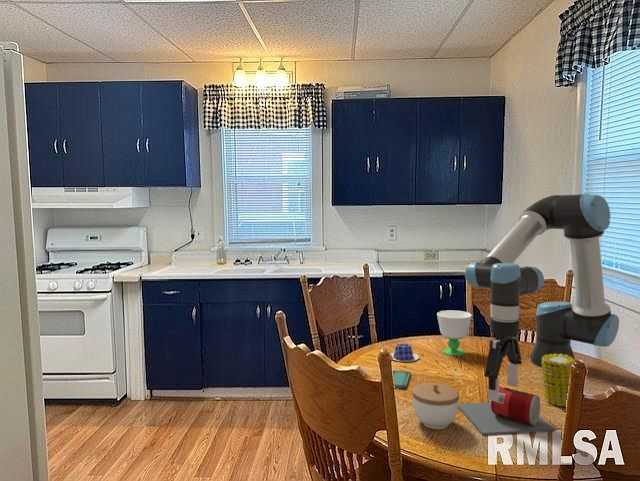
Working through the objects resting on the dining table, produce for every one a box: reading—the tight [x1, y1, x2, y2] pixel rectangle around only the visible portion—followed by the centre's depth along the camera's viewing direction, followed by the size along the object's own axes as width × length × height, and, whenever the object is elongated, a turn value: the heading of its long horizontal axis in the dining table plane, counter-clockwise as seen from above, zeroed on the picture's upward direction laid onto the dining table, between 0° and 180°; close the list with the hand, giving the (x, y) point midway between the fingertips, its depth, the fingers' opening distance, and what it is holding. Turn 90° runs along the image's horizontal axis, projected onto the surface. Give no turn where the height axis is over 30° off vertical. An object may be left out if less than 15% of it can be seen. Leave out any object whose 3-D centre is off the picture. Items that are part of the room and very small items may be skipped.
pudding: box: [391, 343, 420, 363], centre depth 185 cm, size 12×12×5 cm
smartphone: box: [393, 369, 412, 390], centre depth 161 cm, size 7×1×15 cm
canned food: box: [490, 385, 541, 425], centre depth 130 cm, size 8×8×11 cm
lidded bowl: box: [411, 382, 460, 430], centre depth 129 cm, size 13×13×11 cm
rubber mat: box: [458, 401, 556, 436], centre depth 132 cm, size 20×18×1 cm
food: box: [541, 354, 577, 408], centre depth 142 cm, size 15×12×10 cm
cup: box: [436, 309, 472, 357], centre depth 190 cm, size 14×14×16 cm
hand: (503, 392), depth 132 cm, fingers open, 13 cm apart
